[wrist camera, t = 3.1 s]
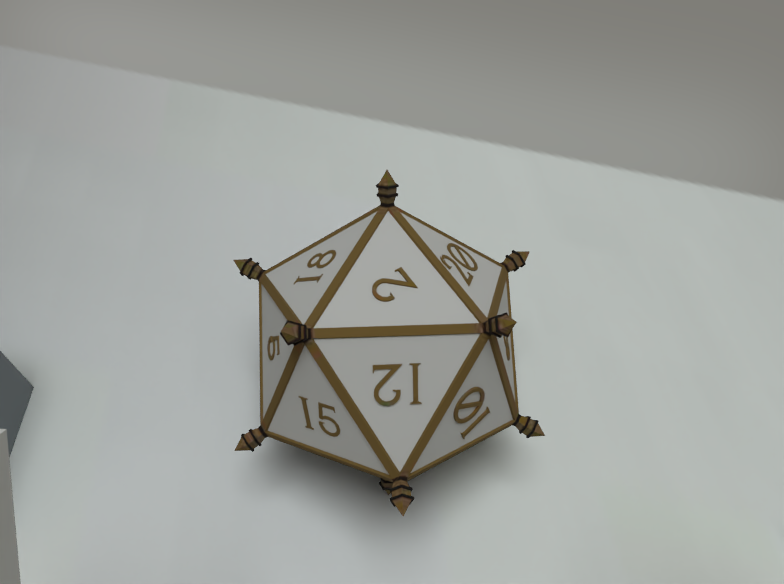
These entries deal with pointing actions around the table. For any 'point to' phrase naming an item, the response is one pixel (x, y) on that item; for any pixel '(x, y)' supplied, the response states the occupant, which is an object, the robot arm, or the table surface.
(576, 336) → the table surface
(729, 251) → the table surface
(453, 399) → the game die
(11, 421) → the slate block
